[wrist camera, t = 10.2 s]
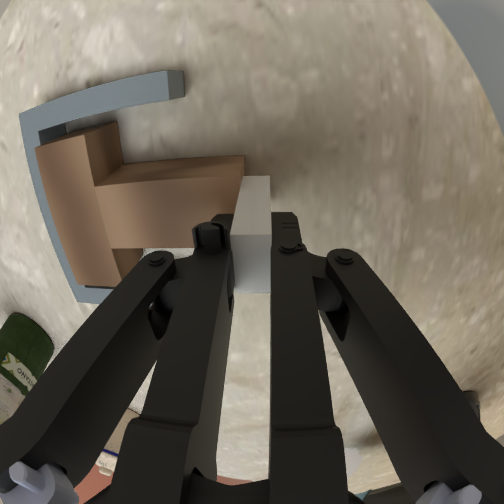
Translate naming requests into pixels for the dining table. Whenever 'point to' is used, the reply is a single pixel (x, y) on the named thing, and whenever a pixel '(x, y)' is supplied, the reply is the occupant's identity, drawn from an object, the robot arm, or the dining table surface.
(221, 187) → the t block
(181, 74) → the dock
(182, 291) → the robot arm
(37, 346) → the wine bottle
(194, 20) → the dining table surface
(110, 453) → the teacup with lid
